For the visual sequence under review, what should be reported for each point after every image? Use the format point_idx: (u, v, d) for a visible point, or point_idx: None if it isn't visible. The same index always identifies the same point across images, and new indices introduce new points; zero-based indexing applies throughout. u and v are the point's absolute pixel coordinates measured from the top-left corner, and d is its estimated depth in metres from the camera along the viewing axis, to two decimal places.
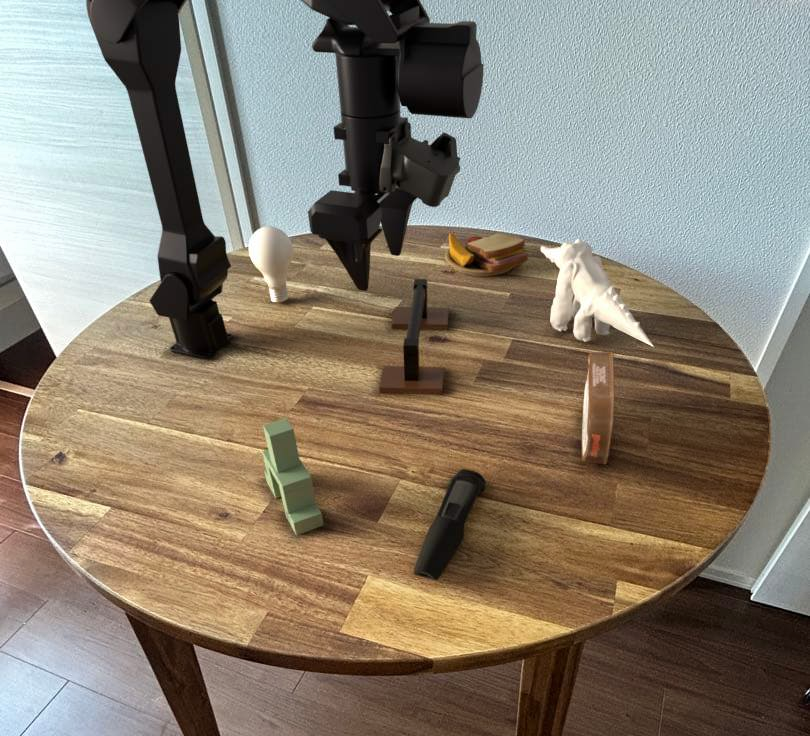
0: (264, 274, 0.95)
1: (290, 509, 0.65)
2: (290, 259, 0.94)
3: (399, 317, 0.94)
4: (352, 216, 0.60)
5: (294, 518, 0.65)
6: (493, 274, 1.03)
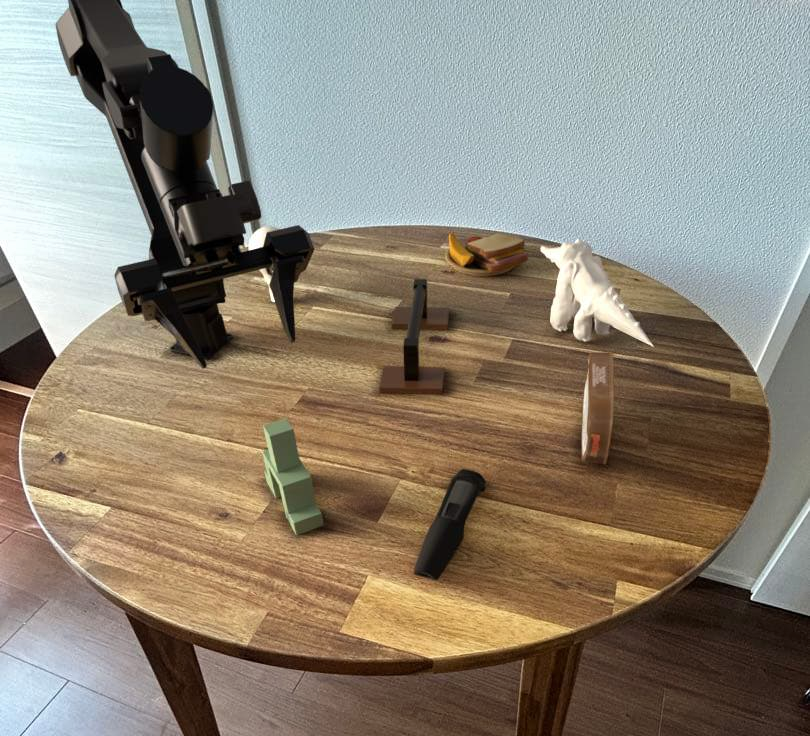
0: (264, 274, 0.95)
1: (290, 509, 0.65)
2: None
3: (399, 317, 0.94)
4: (115, 276, 0.59)
5: (294, 518, 0.65)
6: (493, 274, 1.03)
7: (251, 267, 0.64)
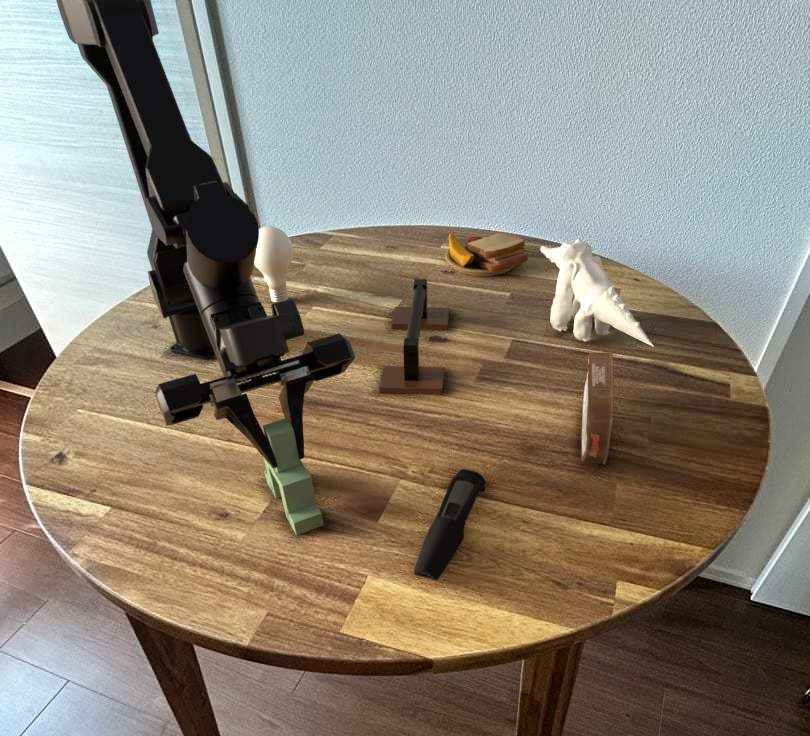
0: (264, 274, 0.95)
1: (290, 509, 0.65)
2: (290, 259, 0.94)
3: (399, 317, 0.94)
4: (155, 393, 0.58)
5: (294, 518, 0.65)
6: (493, 274, 1.03)
7: (291, 376, 0.63)
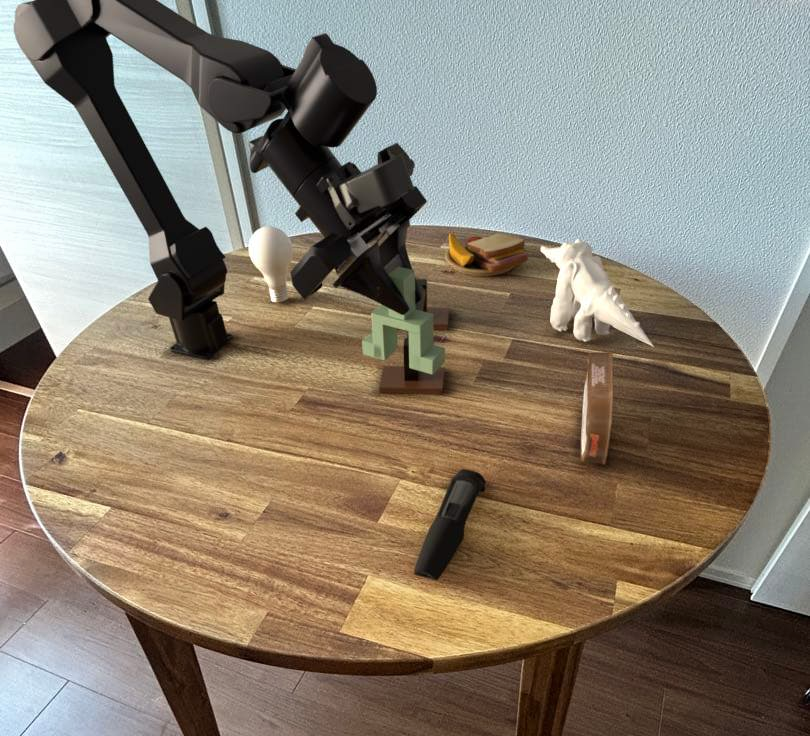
0: (264, 274, 0.95)
1: (422, 352, 0.71)
2: (290, 259, 0.94)
3: None
4: (311, 255, 0.60)
5: (429, 358, 0.71)
6: (493, 274, 1.03)
7: None
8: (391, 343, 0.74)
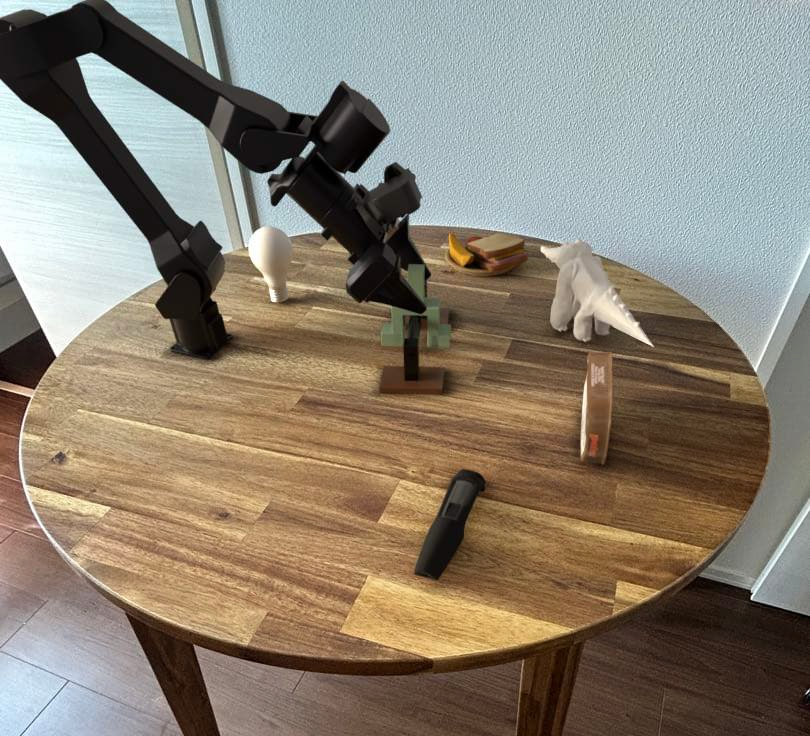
0: (264, 274, 0.95)
1: (439, 330, 0.85)
2: (290, 259, 0.94)
3: None
4: (372, 262, 0.71)
5: (445, 334, 0.86)
6: (493, 274, 1.03)
7: None
8: (404, 330, 0.87)
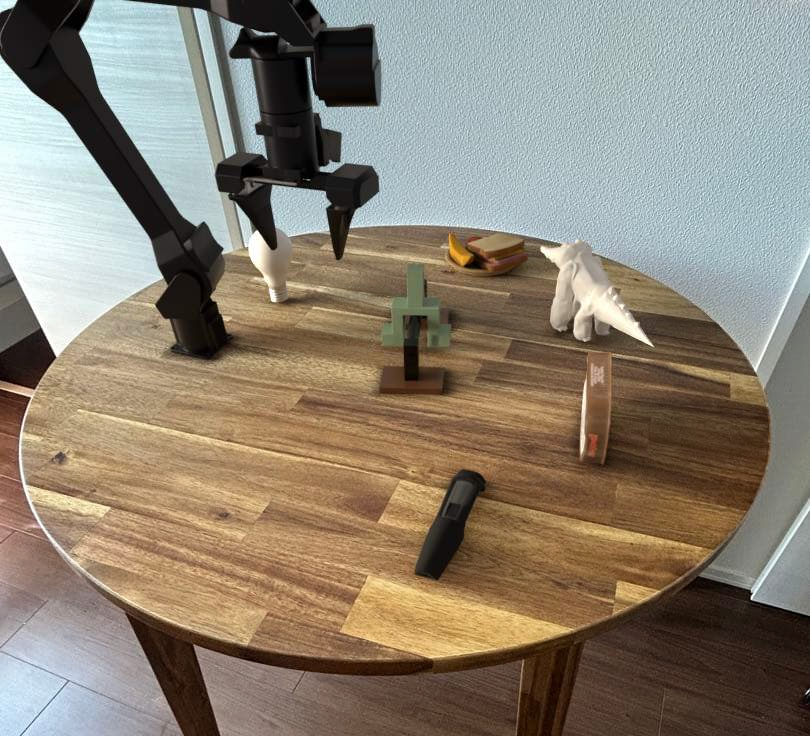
0: (264, 274, 0.95)
1: (439, 330, 0.85)
2: (290, 259, 0.94)
3: None
4: (375, 173, 0.72)
5: (445, 334, 0.86)
6: (493, 274, 1.03)
7: None
8: (404, 330, 0.87)
